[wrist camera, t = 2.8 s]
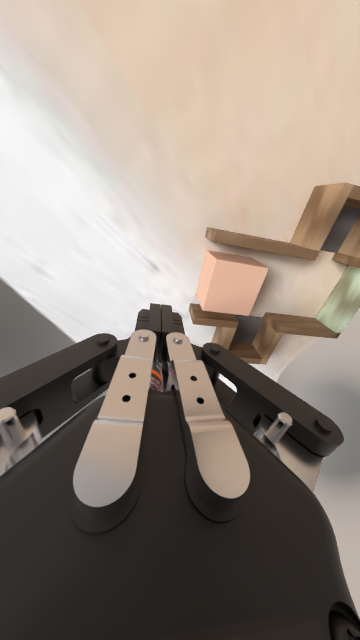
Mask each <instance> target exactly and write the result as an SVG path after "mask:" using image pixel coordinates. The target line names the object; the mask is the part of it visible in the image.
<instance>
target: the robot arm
mask: <svg viewBox="0 0 360 640" xmlns="http://www.w3.org/2000/svg"><path fill="white" fill-rule="evenodd" d="M157 355H158V363H161V372H160V374H161V383H162V392H160V391H156V390H152V389H149V388H150V381H151V374H152V369H153V367H154V362H157ZM90 368H91V370H90V371H88V372H87V373H85V374H83V375H82V376H80V377H78V378H77V379H75V377H77V376H78V375H80V374H82V373H83V372H85V371H87V370H88V369H90ZM219 374H222V375H223V376H224V377H226V378H227V379H228V380H229V381H231V382H232V383H233V384H234V385H235V386H236V388H237V393H236V392H235V391H233V390H232V389H231V388H230V387H228V386H227V385H226V384H225V383H223V382H222V381H221V380H220V379H219V378H218V377H219ZM74 379H75V380H74ZM73 380H74V381H73ZM108 388H109V389H108ZM107 389H108V391H107V394H106V395H105V396H103V397H101V398H99V399H97V400H95V401H94V402H92V403H91V404H89V405H88V406H87V407H86V408H85V409H83V410H82V411H81V412H79V413H78V414H77V415H76V416H74V417H73V418H72V419H71V420H70V421H68V422H67V423H66V424H65V425H63V426H62V427H61V428H59V429H58V430H57V431H56V432H55V433H53V434H52V435H51V436H50V437H48V438H47V439H46V440H45V441H43V442H42V438H43V437H44V436H46V435H47V434H48V433H50V432H51V431H52V430H54V429H55V428H56V427H58V426H59V425H60V424H62V423H63V422H64V421H66V420H67V419H68V418H70V417H71V416H72V415H74V414H75V413H76V412H78V411H79V410H80V409H82V408H83V407H84V406H86V405H87V404H88V403H90V402H91V401H92V400H94V399H95V398H96V397H98V396H99V395H100V394H102V393H103V392H104V391H106V390H107ZM343 441H344V437H343V434H342V432H341V430H340V429H339V427H338V426H337V425H336V424H335V423H334V422H333V421H332V420H331V419H330V418H328V417H327V416H325V415H324V414H322V413H321V412H319V411H318V410H316V409H315V408H313V407H312V406H310V405H309V404H308V403H306V402H305V401H303V400H302V399H300V398H299V397H297V396H296V395H294V394H293V393H291V392H290V391H288V390H286V389H285V388H284V387H282V386H281V385H279V384H278V383H276V382H275V381H273V380H272V379H270V378H269V377H267V376H266V375H264V374H263V373H261V372H260V371H258V370H257V369H255V368H254V367H252V366H251V365H249V364H248V363H246V362H245V361H243V360H242V359H240V358H239V357H237V356H236V355H234V354H233V353H231V352H230V351H228V350H227V349H225V348H224V347H222V346H221V345H219V344H216V343H206V344H204V346H203V348H202V347H199V346H196V345H193V344H191V343H190V340H189V338H188V337H187V336H186V335H185V332H184V328H183V323H182V318H181V316H180V315H179V314H178V313H174V312H172V307H171V306H170V305H161V304H152V303H150V310H146V309H142V310H141V311H140V312H139V313H138V318H137V323H136V328H135V332H133V333H132V336H131V337H130V338H128V339H125V340H119V341H117V339H116V337H115V336H113V335H111V334H106V333H102V334H97V335H94V336H92V337H90V338H87V339H85V340H83V341H81V342H79V343H76V344H74V345H72V346H70V347H68V348H65V349H63V350H61V351H59V352H57V353H54V354H52V355H50V356H48V357H46V358H43V359H41V360H39V361H37V362H35V363H32V364H30V365H28V366H26V367H24V368H22V369H19V370H17V371H15V372H13V373H10V374H8V375H6V376H4V377H2V378H0V640H360V618H359V616H358V614H357V611H356V609H355V606H354V603H353V601H352V598H351V595H350V592H349V589H348V586H347V583H346V580H345V577H344V573H343V569H342V566H341V562H340V557H339V552H338V547H337V542H336V538H335V535H334V532H333V528H332V526H331V523H330V521H329V519H328V517H327V515H326V513H325V511H324V509H323V507H322V505H321V504H320V502H319V501H318V499H317V498H316V496H315V495H314V493H313V491H314V488H315V484H316V481H317V477H318V474H319V470H320V467H321V463H322V461H323V460H324V459H325V458H326V457H327V456H329V455H330V454H331V453H332V452H333V451H334V450H335V449H336V448H337V447H339V445H341V444H342V443H343ZM41 442H42V443H41Z"/></svg>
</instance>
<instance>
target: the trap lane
mask: <svg viewBox="0 0 360 640" xmlns="http://www.w3.org/2000/svg"><path fill="white" fill-rule="evenodd" d="M205 237H207V238H208V239H210V240H211V241H213V242H217V243H223V244H228V245H234V246H239V247H245V248H250V249H256V250H261V251H267V252H273V253H278V254H284V255H289V256H295V257H300V258H306V259H312V260H315V258H316V256H317V255H318V253H319V251H320V249H322V250H327V251H332V252H336V253H335V255H334V257H333V259H332V260H334V261H338V262H341V263H344V264H347V265H349V266H348V267H347V269H346V270H345V272H344V274H343V275H342V277H341V278H340V280H339V282H338V283H337V285H336V286H335V288H334V290H333V291H332V293H331V294H330V296H329V298H328V299H327V301H326V302H325V304H324V306H323V307H322V309H321V310H320V312H319V314H318V315H317V317H316V318H308V317H300V316H292V315H283V314H275V313H265V315H264V317H263V318H259V317H251V316H242V315H234V314H228V313H220V312H211V311H203V310H202V308H201V306H200V305H199V304H191V303H190V307H189V311H190V315H191V319H192V322H193V324H197V325H207V326H217V327H216V330H215V333H214V337H213V340H212V343H216V344H219V345H221V346H222V347H224V348H225V349H227V350H228V351H230V352H231V353H233V354H234V355H236V356H237V357H239V358H240V359H242V360H243V361H245V362H246V363H252V364H266V363H267V361H268V359H269V358H270V356H271V354H272V352H273V350H274V348H275V347H276V345H277V343H278V341H279V339H280V337H281V336H282V334H283V333H287V334H296V335H306V336H316V337H326V338H338V336H339V335H340V334H341V332H342V331H343V329H344V328H345V327H346V325H347V324H348V323H349V321H350V320H351V319H352V317H353V316H354V315H355V313H356V312H357V311H358V309H359V308H360V186H356V185H353V184H349V183H338V184H330V185H322V186H315V188H314V190H313V192H312V194H311V197H310V199H309V201H308V203H307V206H306V208H305V210H304V212H303V215H302V217H301V219H300V222H299V224H298V226H297V228H296V231H295V233H294V235H293V237H292V240H291V242H290V243H286V242H281V241H276V240H270V239H265V238H260V237H255V236H250V235H244V234H239V233H234V232H229V231H224V230H218V229H213V228H208V227H207V231H206V236H205Z"/></svg>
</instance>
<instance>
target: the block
mask: <svg viewBox="0 0 360 640" xmlns="http://www.w3.org/2000/svg"><path fill="white" fill-rule="evenodd" d="M268 269H269V268H267V267H266V266H264V265H262V264H260V263H259V262H257V261H255V260H253V259H252V258H249V257H243V256H238V255H232V254H227V253H221V252H216V251H210V250H206V253H205V258H204V262H203V266H202V270H201V274H200V278H199V282H198V287H197V291H196V296H197V298H198V301H199V303H200V306H201V308H202V310H203V311H211V312H220V313H228V314H236V315H245V316H249V314H250V312H251V310H252V307H253V305H254V303H255V300H256V298H257V295H258V293H259V291H260V288H261V286H262V284H263V281H264V279H265V277H266V274H267V272H268Z"/></svg>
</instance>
